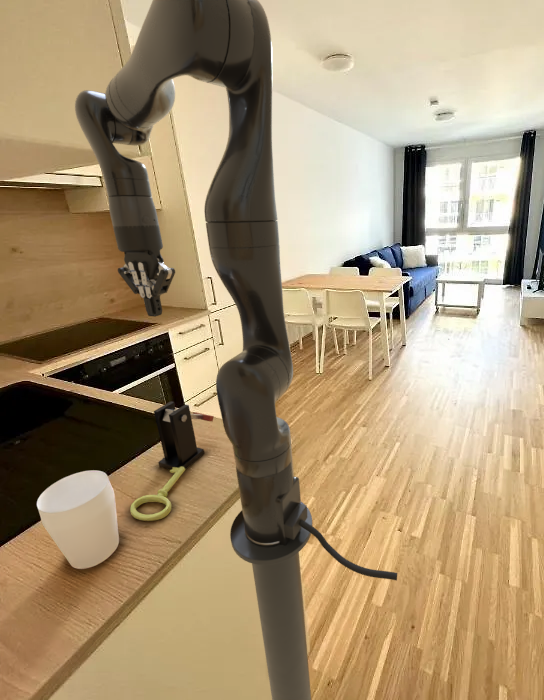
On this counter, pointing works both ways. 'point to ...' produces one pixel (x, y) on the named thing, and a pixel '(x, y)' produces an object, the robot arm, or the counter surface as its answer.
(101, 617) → the counter surface
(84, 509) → the cup
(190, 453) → the bracket
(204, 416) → the lever
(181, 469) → the key
